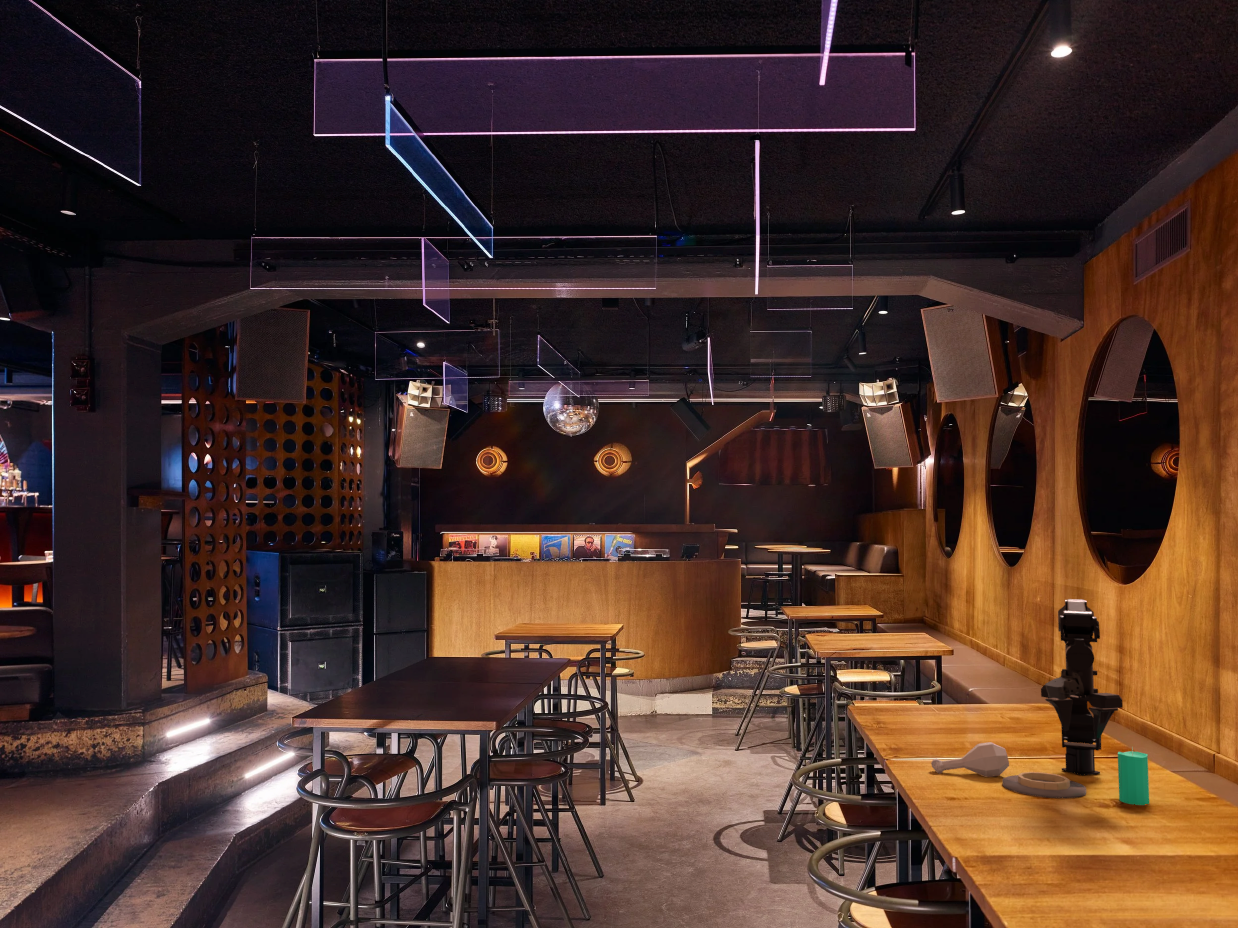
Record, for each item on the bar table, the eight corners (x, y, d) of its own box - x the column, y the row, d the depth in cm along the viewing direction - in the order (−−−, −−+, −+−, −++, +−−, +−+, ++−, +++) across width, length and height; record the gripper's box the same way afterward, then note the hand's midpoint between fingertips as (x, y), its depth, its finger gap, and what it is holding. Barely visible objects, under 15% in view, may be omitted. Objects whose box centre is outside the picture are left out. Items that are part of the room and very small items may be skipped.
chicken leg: (932, 771, 243) (926, 743, 241) (1005, 761, 239) (1000, 733, 237) (938, 791, 235) (932, 763, 233) (1013, 781, 231) (1008, 752, 229)
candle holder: (1042, 776, 234) (1041, 766, 234) (1104, 794, 217) (1103, 783, 218) (985, 782, 227) (985, 771, 227) (1045, 801, 210) (1045, 789, 211)
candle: (1146, 799, 213) (1144, 745, 214) (1152, 806, 207) (1149, 750, 209) (1117, 797, 215) (1115, 743, 216) (1121, 803, 209) (1119, 748, 211)
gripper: (1022, 662, 226) (1023, 728, 224) (1084, 671, 208) (1087, 743, 207) (1058, 660, 229) (1060, 726, 228) (1123, 670, 212) (1125, 741, 210)
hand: (1081, 734), depth 218 cm, fingers open, 9 cm apart
